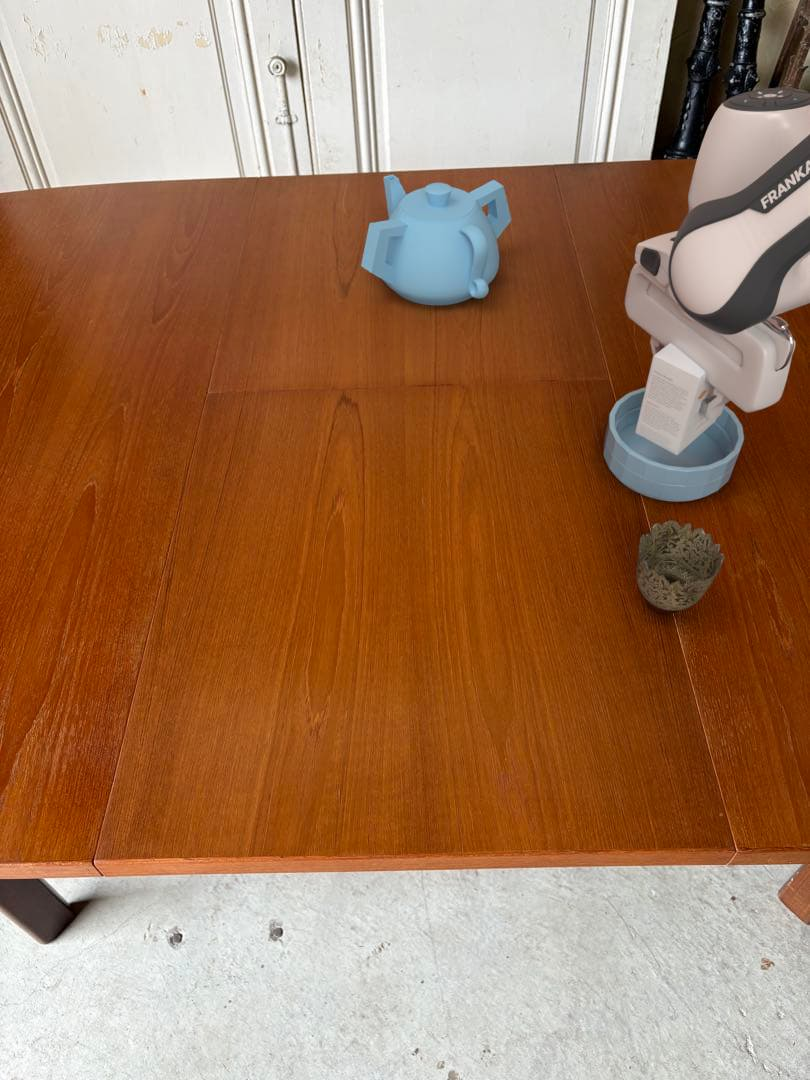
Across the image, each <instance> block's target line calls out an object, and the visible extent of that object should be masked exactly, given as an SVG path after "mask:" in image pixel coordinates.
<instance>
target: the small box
mask: <svg viewBox="0 0 810 1080" xmlns="http://www.w3.org/2000/svg"><path fill="white" fill-rule="evenodd" d="M705 377H706V373H705V371H704V370H703V369H702V368H700V367H699V366H698V365H697V364H696V363H695V362H693V361H692V360H691V359H690V358H689V357H688V356H686V355H685V354H684V353H683V352H682V351H680V350H679V349H678V348H677V347H675V346H674V345H672V344H671V343H669V344H668V345H667V346H665V347H664V348H663V349H661V350H660V351H659V352H658V353H656V354H655V355H654V356H653V355H652V359H651V363H650V368H649V373H648V376H647V380H646V383H645V384H646V385H645V387H646V389H645V393H644V397H643V401H642V406H641V410H640V414H639V419H638V423H637V427H636V431H635V433H636V434H638V435H640V436H641V437H643V438H645V439H647V440H649V441H651V442H653V443H654V444H656V445H658V446H660V447H662V448H664V449H665V450H667V451H669V452H671V453H673V454H675V455H678V454H679V453H680V452H681V451H682V450H684V449H685V448H686V447H687V446H688V445H689V444H690V443H691V442H692V441H694V440H695V439H696V438H697V437H698V436H699V435H700V434H702V433H703V432H704V431H705V430H706V429H707V428H708V427H709V426H710V425H712V424H713V423H714V422H715V421H716V419H717V418H715V419H712V420H708V419H707V418H706V417H704V416H703V415H702V414H701V413H700V412H699V409H700V408H701V403H702V400H704V399H707V398H710V397H712V396H715V395H714V393H713V391H714V388H715V387H714V386H712V385H711V384H710V383H709V382H707V381H706V380H705Z"/></svg>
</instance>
